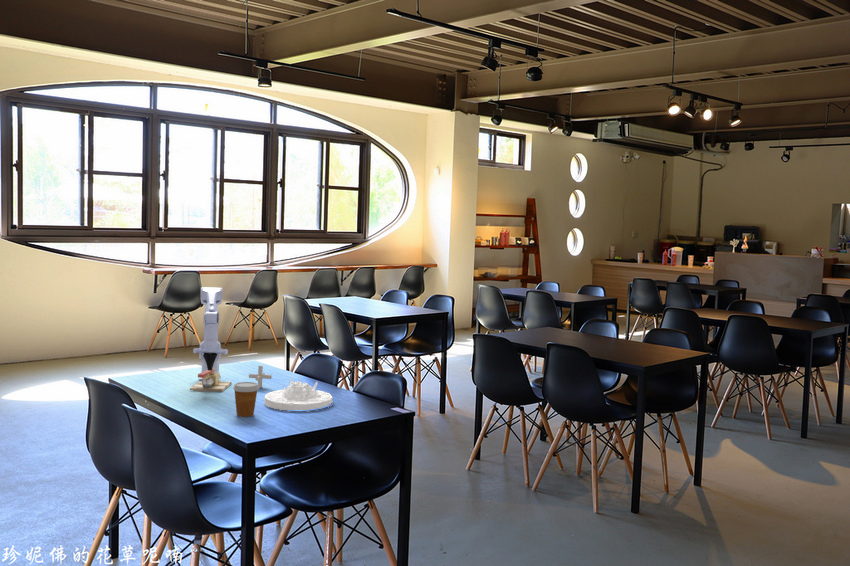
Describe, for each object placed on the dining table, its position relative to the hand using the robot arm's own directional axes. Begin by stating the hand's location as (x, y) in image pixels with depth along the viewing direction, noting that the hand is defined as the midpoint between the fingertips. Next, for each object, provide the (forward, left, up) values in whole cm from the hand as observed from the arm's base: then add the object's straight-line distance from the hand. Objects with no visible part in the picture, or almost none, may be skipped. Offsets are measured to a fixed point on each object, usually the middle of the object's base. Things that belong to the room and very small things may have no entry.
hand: (210, 370), depth 309 cm
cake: (+15, +41, -10) cm, 45 cm away
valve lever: (-2, -2, -2) cm, 3 cm away
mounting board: (-8, -2, -10) cm, 13 cm away
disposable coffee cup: (+37, +24, -10) cm, 45 cm away
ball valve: (-8, -2, -10) cm, 13 cm away
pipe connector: (-12, +19, -10) cm, 25 cm away
